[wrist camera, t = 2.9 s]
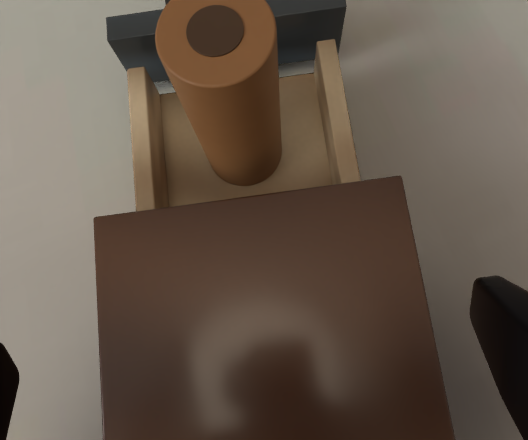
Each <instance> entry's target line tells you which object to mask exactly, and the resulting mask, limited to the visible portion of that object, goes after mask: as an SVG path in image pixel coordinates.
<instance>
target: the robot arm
mask: <svg viewBox="0 0 528 440" xmlns="http://www.w3.org/2000/svg"><path fill="white" fill-rule="evenodd" d="M470 319H471V323H472V325H473V328H474V330H475V333H476V335H477V338H478V340H479V343H480V345H481V348H482V350H483V353H484V355H485V358H486V360H487V363H488V365H489V368H490V371H491V373H492V376H493V378H494V381H495V383H496V386H497V388H498V390H499V393H500V395H501V397H502V399H503V401H504V403H505V405H506V407H507V409H508V411H509V413H510V415H511V417H512V419H513V420H514V422H515V424H516V426H517V428H518V430H519V432H520V434H521V435H522V437H523V439H524V440H528V291H526V290H524V289H522V288H521V287H519V286H517V285H515V284H513V283H512V282H510V281H508V280H506V279H504V278H503V277H500V276H488V277H480V278H477V279H476V280H475V281H474V284H473V290H472V298H471V305H470ZM18 385H19V372H18V369H17V367H16V365H15V364H14V362H13V360H12V358H11V357H10V355H9V353H8V352H7V350H6V348H5V347H4V345H3V344H2V343H0V440H6V437H7V433H8V428H9V424H10V420H11V415H12V411H13V407H14V402H15V398H16V393H17V389H18Z"/></svg>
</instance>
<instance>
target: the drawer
mask: <svg viewBox="0 0 528 440" xmlns="http://www.w3.org/2000/svg"><path fill="white" fill-rule="evenodd" d="M169 1H170V0H165V3H166V5H167V4H168V3H169ZM265 1H266V2H267V3H268V5H269V6H270V8H271V10H272V12H273V14H274V17H275V21H276V27H277V50H278V64H285V63H292V62H299V61H306V60H313V59H315V65H314V73H309V74H302V75H295V76H288V77H280V78H279V95H280V118H281V141H282V155H281V159H280V162H279V165H278V167H277V168H276V170H275V171H274V172H273V174H272V175H271V176H269V177H268V178H267V179H266V180H264V181H262V182H260V183H258V184H254V185H250V186H238V185H233V184H230V183H228V182H226V181H224V180H223V179H221V178H220V177H219V176H218V175H217V174H216V173H215V172H214V170H213V169H212V167H211V165H210V163H209V161H208V158H207V156H206V154H205V152H204V150H203V148H202V146H201V144H200V142H199V140H198V137H197V135H196V133H195V131H194V129H193V127H192V125H191V123H190V121H189V119H188V117H187V114H186V112H185V110H184V108H183V106H182V104H181V102H180V100H179V98H178V96H177V93H176V92H175V93H168V94H161V95H160V94H159V92H158V90H157V89H156V87H155V85H154V83H153V82H159V81H166V80H170V79H169V77H168V75H167V72H166V70H165V68H164V66H163V64H162V62H161V60H160V58H159V55H158V53H157V49H156V43H155V32H156V26H157V22H158V20H159V17H160V15H161V13H162V11H163V9H161V10H154V11H148V12H141V13H134V14H127V15H120V16H113V17H107V18H106V23H107V41H108V42H109V44H110V46H111V47H112V49H113V50H114V52H115V54H116V55H117V57H118V58H119V60H120V61H121V63H122V65H123V66H124V68H125V69H126V71H127V77H128V93H129V108H130V123H131V139H132V154H133V170H134V185H135V200H136V211H144V210H151V209H158V208H166V207H173V206H180V205H188V204H195V203H202V202H210V201H217V200H224V199H232V198H239V197H246V196H254V195H261V194H268V193H276V192H283V191H290V190H298V189H305V188H312V187H320V186H327V185H334V184H342V183H349V182H356V181H361V179H360V174H359V168H358V163H357V157H356V152H355V146H354V141H353V135H352V130H351V124H350V119H349V113H348V108H347V102H346V97H345V91H344V86H343V80H342V75H341V70H340V64H339V59H338V52H339V47H340V41H341V35H342V29H343V24H344V18H345V12H346V7H347V6H346V0H265Z"/></svg>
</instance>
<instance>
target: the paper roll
mask: <svg viewBox="0 0 528 440" xmlns="http://www.w3.org/2000/svg"><path fill="white" fill-rule="evenodd" d="M155 43H156V49H157V53H158V55H159V58H160V60H161V62H162V64H163V66H164V68H165V70H166V72H167V75H168V77H169V79H170V81H171V83H172V85H173V87H174V89H175V91H176V93H177V96H178V98H179V100H180V102H181V104H182V106H183V108H184V110H185V112H186V114H187V117H188V119H189V121H190V123H191V125H192V127H193V129H194V131H195V133H196V135H197V137H198V140H199V142H200V144H201V146H202V148H203V150H204V152H205V154H206V156H207V158H208V161H209V163H210V165H211V167H212V169H213V170H214V172H215V173H216V174H217V175H218V176H219V177H220V178H221V179H223V180H224V181H226V182H228V183H230V184H233V185H238V186H250V185H254V184H258V183H260V182H262V181H264V180H266V179H267V178H268V177H269V176H271V175H272V174H273V172H274V171H275V170H276V168H277V167H278V165H279V162H280V159H281V155H282V141H281V118H280V95H279V72H278V50H277V27H276V21H275V17H274V14H273V12H272V10H271V8H270V6H269V5H268V3H267V2H266V1H265V0H170V1H169V3H168V4H167V5H166V6H165V8H164V9H163V11H162V13H161V15H160V17H159V20H158V22H157V26H156V32H155Z"/></svg>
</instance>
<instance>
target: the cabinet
mask: <svg viewBox="0 0 528 440" xmlns="http://www.w3.org/2000/svg"><path fill="white" fill-rule="evenodd" d="M94 240H95V263H96V286H97V309H98V333H99V356H100V379H101V402H102V425H103V440H455V435H454V430H453V426H452V421H451V416H450V411H449V406H448V401H447V396H446V391H445V386H444V381H443V377H442V372H441V367H440V362H439V357H438V352H437V347H436V342H435V337H434V332H433V328H432V323H431V318H430V313H429V308H428V303H427V298H426V293H425V288H424V283H423V279H422V274H421V269H420V264H419V259H418V254H417V249H416V244H415V239H414V234H413V230H412V225H411V220H410V215H409V210H408V205H407V200H406V195H405V190H404V185H403V181H402V177H401V176H393V177H386V178H378V179H371V180H364V181H356V182H349V183H342V184H334V185H327V186H320V187H312V188H305V189H298V190H290V191H283V192H276V193H268V194H261V195H254V196H246V197H239V198H232V199H224V200H217V201H210V202H202V203H195V204H188V205H180V206H173V207H166V208H158V209H151V210H144V211H136V212H129V213H122V214H114V215H107V216H100V217H95V218H94Z"/></svg>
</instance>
